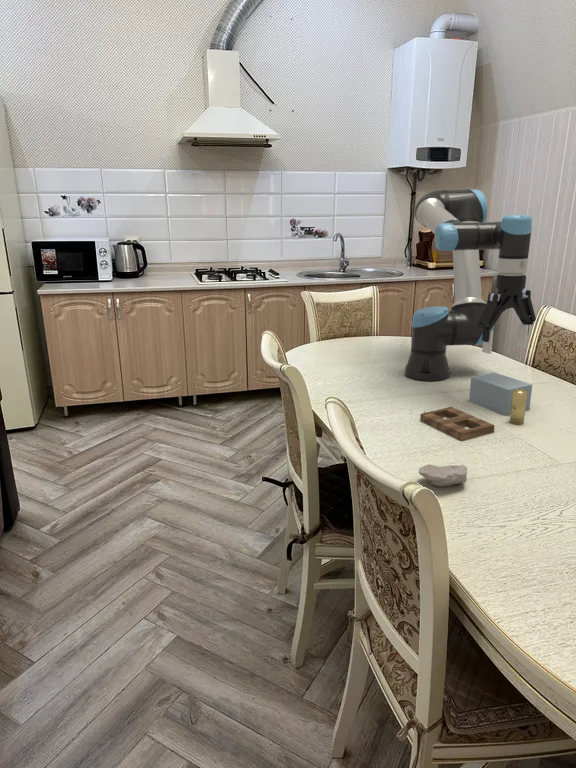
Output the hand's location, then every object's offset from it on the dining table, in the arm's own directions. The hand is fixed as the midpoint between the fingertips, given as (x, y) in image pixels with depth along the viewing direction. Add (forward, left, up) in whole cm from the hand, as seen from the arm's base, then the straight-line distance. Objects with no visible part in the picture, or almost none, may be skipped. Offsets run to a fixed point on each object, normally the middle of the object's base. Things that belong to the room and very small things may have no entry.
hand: (504, 349), depth 157 cm
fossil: (+29, -47, -17) cm, 58 cm away
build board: (+6, -22, -17) cm, 28 cm away
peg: (+12, -6, -17) cm, 21 cm away
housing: (0, 0, -17) cm, 17 cm away
